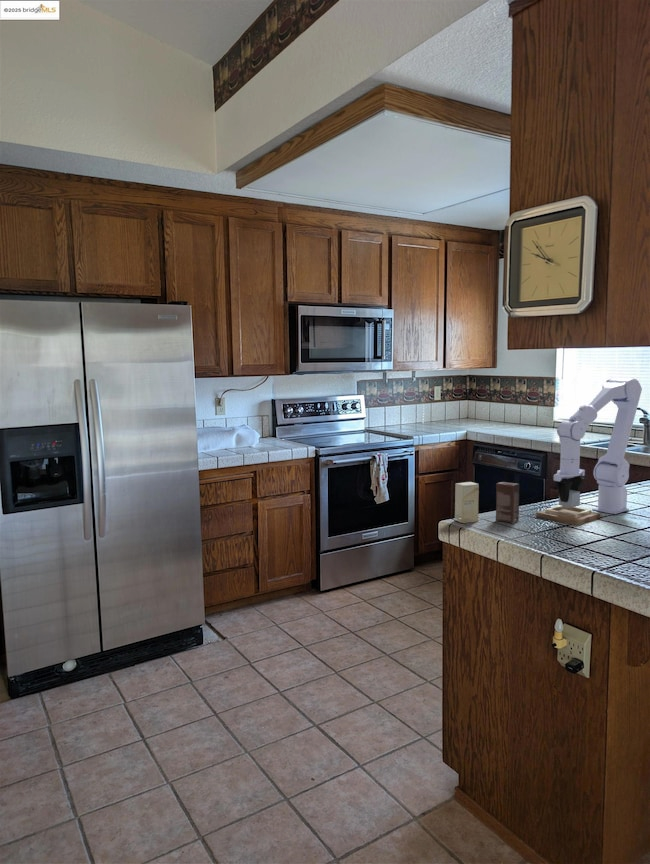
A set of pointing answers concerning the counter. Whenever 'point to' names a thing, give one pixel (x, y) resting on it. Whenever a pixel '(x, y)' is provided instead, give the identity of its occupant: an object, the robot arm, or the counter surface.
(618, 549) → the counter surface
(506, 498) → the box
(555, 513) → the base board
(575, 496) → the block
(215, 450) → the counter surface
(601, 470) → the robot arm
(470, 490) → the skincare box
